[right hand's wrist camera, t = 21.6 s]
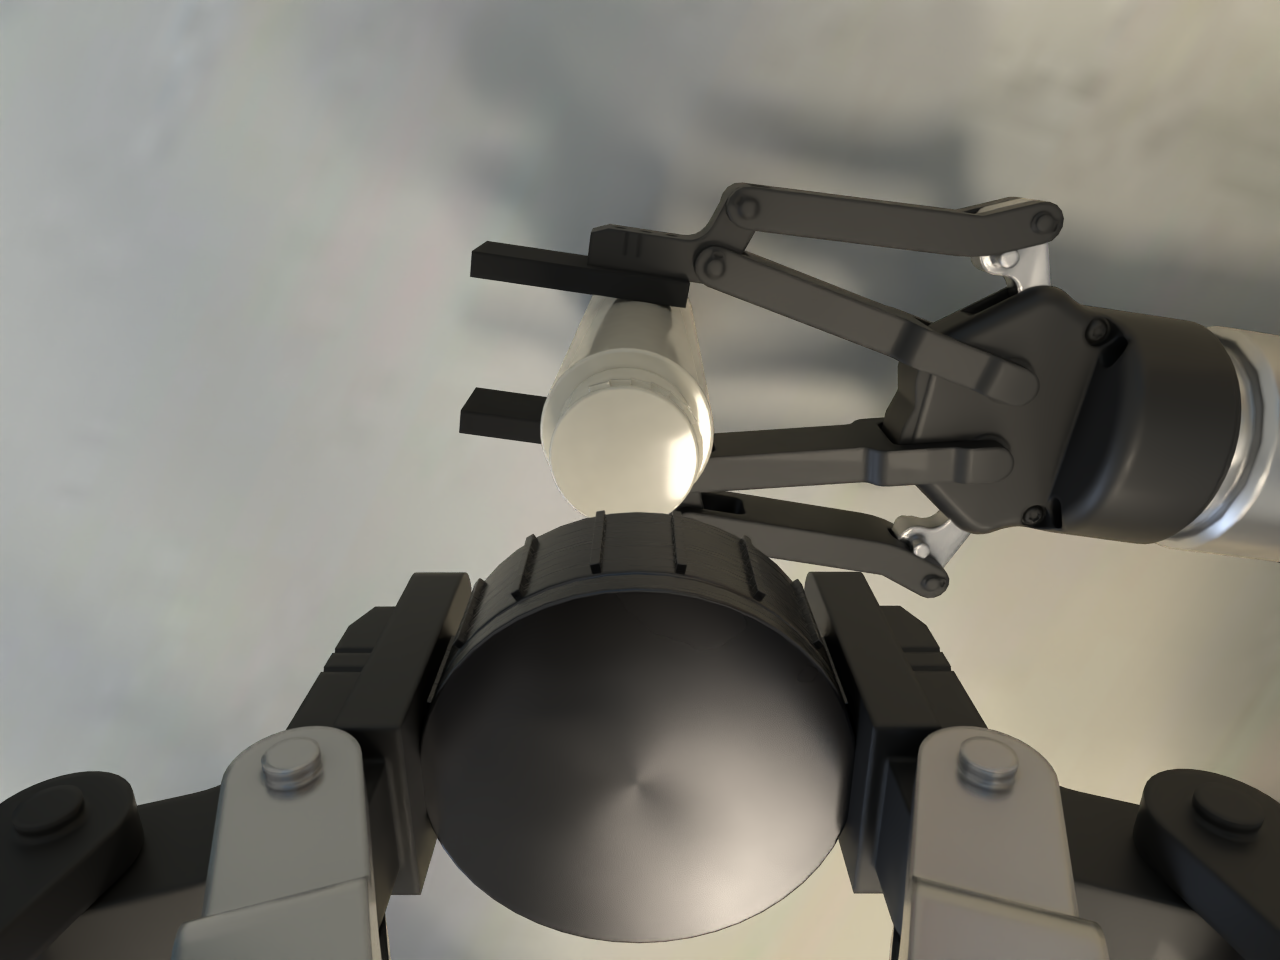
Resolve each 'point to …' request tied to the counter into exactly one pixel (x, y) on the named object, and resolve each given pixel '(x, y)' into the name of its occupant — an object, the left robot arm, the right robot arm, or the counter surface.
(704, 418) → the jar
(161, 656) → the counter surface
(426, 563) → the counter surface
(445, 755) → the lid
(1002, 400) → the left robot arm
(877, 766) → the right robot arm
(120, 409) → the counter surface
